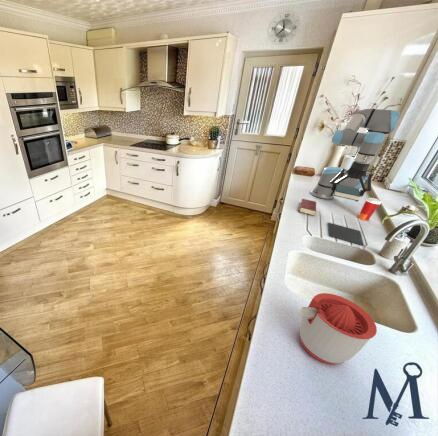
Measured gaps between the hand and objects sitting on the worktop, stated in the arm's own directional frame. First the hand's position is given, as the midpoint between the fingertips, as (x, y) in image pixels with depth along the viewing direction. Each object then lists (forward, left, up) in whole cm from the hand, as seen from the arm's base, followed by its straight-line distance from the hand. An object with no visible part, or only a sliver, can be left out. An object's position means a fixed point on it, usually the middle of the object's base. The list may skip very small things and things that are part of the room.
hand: (343, 198), depth 139 cm
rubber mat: (+7, +7, -19) cm, 21 cm away
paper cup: (-25, +19, -19) cm, 36 cm away
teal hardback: (0, 0, +2) cm, 2 cm away
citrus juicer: (+100, -6, -19) cm, 102 cm away
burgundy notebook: (-16, -14, -19) cm, 28 cm away
